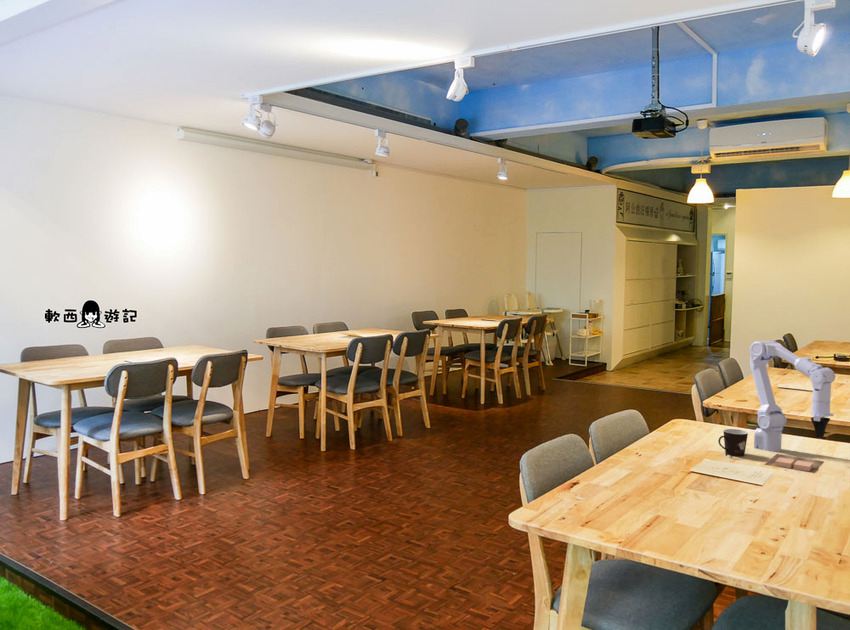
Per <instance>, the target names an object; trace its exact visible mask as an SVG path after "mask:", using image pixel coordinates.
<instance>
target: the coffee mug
mask: <svg viewBox="0 0 850 630" xmlns="http://www.w3.org/2000/svg"><path fill="white" fill-rule="evenodd" d="M748 435H749V432H748V431H746V430H742V429H737V428H726V429H723V435H721V436H720V437H718V441H717V442H718V444H719V446H720V447H721V448H722V449H724V453H725V457H727V456H731V457H737V458H738V457H744V456H745V453H746V447H747V440H748ZM721 439H723V441H724V446H723V445H722V443H721Z"/></svg>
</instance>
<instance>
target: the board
mask: <svg viewBox="0 0 850 630" xmlns="http://www.w3.org/2000/svg"><path fill="white" fill-rule="evenodd" d="M779 457H781V458H787V459H793V460H795V462H797V461H798V460H799V461H805V462H811V463H813V468H812V469H811V470H810V471H803V470H797V469H794V465H793V466H792V467H791V468H785V467H780V466H776V465H775V461H776V460H777V459H778V458H779ZM824 462H825V460H818V459H812V458H805V457H801V456H800V457H799V456H794V455H793V456H792V455H786V454H780V453H775V455H774V456H772V457H771V458H770V459H769V460H768V461H767V462H765V463H764V464H763V465H764V466H770V467H771V466H772V467H776V468H781V469H787V470H794V471H798V472H799V471H800V472H806V473H811V474H815V472H817V470H819V468H820V467H821V466H822V465H823V464H824Z"/></svg>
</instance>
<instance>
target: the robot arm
mask: <svg viewBox="0 0 850 630" xmlns="http://www.w3.org/2000/svg"><path fill="white" fill-rule="evenodd" d="M748 351H749V355H750V356H749V366H750V367H749V368H750V370H751V374H752V378H753V381H754V386H755V388H756V393H757V397H758V400H759V401H758V402H759V405H760V407H759V409H758V410H757V412H756V413H757V425H758V427H759V428H758V427H757V428H756V429H755V431H754V436H753V437H754V438H753V442H754V443H753V448H754V449H755V450H762V451H765V452H766V451H767V452H772V453H773V452H775V453H778V452H781V451H782V440H783V439H782V435H783V430H784V427H786V425H787V423H788V422H787V416H786V415H785V414H784V412H783V410H782V408H781V407H780V406H779V405H777V404H776V399H775V395H774V391H773V389H772V385H771V380H770V377H769V373H768V369H767V365H768V364H769V361H771V360H772V359H773V358H775V357H778V358H780V359H782V360H784V361H786V362H788V363H790V364H791V365H793V366H794V368H795V370H796V371H797V372H799V373H801V374H803V375H804V376H806V377H808V378H809V380H810V382H811V385H812V402H811V412H810V413H811V416H813V417H810V420H811V422H812V425H813V428H814V433H815V437H816V438H819V439H820V438H821V439H823V438H824V436H825V434H826V429H827V426H828V424H829V422H830V421H831V418H830V417H834V413H831V398H832V397H831V395H832V394H831V393H832V383H833V382H835V379H836V374H835V372H834V371H833V370H832V369H831V368H830V367H823V366H822V365H821V364H819V363H818V364H817V363H816V362H814V361H813V360H812V358H810V357H808V356H807V357H806V356H804V357H802V356H801V357H799V356H798V355H796V354H795V353H793V352H792V351H790V350H789V349H787V348H786V347H784V346H783V345H782V344H781V343H779V342H778V341H776V340H766V341H765V340H764V341H762V340H760V341H759V340H757V341H754V342H753V343H752V344H751V345H750V347H749V348H748Z"/></svg>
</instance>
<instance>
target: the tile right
mask: <svg viewBox="0 0 850 630" xmlns="http://www.w3.org/2000/svg"><path fill="white" fill-rule="evenodd" d="M812 468H813V463H811V462H805V461H799V460H798V461H797V462H795V463H794V469H797V470H796V471H798V470H803V471H802V472H804V471H810V470H811V469H812Z"/></svg>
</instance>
